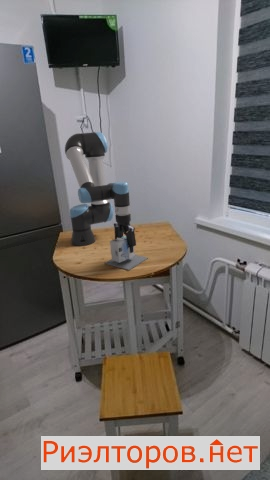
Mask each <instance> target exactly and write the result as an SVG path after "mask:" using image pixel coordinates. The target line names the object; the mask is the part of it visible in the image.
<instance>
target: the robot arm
mask: <svg viewBox="0 0 270 480" xmlns="http://www.w3.org/2000/svg"><path fill="white" fill-rule="evenodd" d="M107 142H108V141H107V139H106V136H105V135H104V133H102V132H99V131H98V132H96V131H94V132H83V133H75V134H72V135H71V136H70V137H69V138H68V139H67V140H66V142H65V145H64V154H65V157H66V158H67V160H68V161H69V162H70V165H71V167H72V170H73V172H74V175H75V178H76V180H77V184H78V187H79V188H78V189H77V195H78V196H77V197H78V201H79V202H80V203H81V204H77V205H75V206H72V207H71V208H70V209H69V217H70V221H71V224H70V225H71V230H72V233H71V240H70V242H71V245H72V246H76V247H77V246H78V247H82V246H83V247H84V246H88V245H89V246H90V245H92V244H94V243H95V242H96V237H95V234H94V233H93V230H92V226H91V225H97V224H102V223H107V222H111V221H112V219H113V217H114V213H115V222H114V223H113V228H114V239H117V238H120V237H123V236H126V239H127V242H128V245H129V246H128V257H129V259H131V258H133V252H134V253H135V250H134V251H133V246H134V247H135V246H137V241H136V234H135V230H136V229H135V226H132V225H131V220H132V217H131V206H130V205H131V204H130V203H131V201H130V188H129V183H128V182H126V181H116V182H109V183H107V184H106V179H105V169H104V158H105V157H106V153H108V143H107ZM84 156H85V157H84ZM85 159H86V160H87V162H88V164H87V162H86V160H85ZM110 200H113V203H114V206H113V204H112V202H110ZM88 204H90V205H88ZM113 207H114V208H113Z"/></svg>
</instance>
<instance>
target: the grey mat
mask: <svg viewBox="0 0 270 480" xmlns="http://www.w3.org/2000/svg"><path fill="white" fill-rule="evenodd" d="M148 259H149V257H146V256H142V255H138V254H135V256H134V257H133V258H131V259H127V260H125V261H122V262H120V263H119V262H116V261H114V260H112V258H111V259H109V260H107V261H105V262H104V263H105V264H106V265H109V266H113V267H115V268H119V269H123V270H125V271H131V270H133V269H134V268H136V267H137V266H139V265H141V264H142V263H144V262H145V261H146V260H148Z"/></svg>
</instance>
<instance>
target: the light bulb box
mask: <svg viewBox="0 0 270 480" xmlns="http://www.w3.org/2000/svg"><path fill="white" fill-rule="evenodd" d="M109 244H110V254H111V255H110V256H111V259H112V260H114V261H116V262H119V263H120V262H122V261H125V260H127V259H129V257H128V246H129V245H128V242H127V239H126V236H125V235H123V237H120V238H117V239H115V238H114V239H112V240H110V241H109ZM133 251H134V252H133V257H134V256H135V255H136V254H135V246H133Z"/></svg>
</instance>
